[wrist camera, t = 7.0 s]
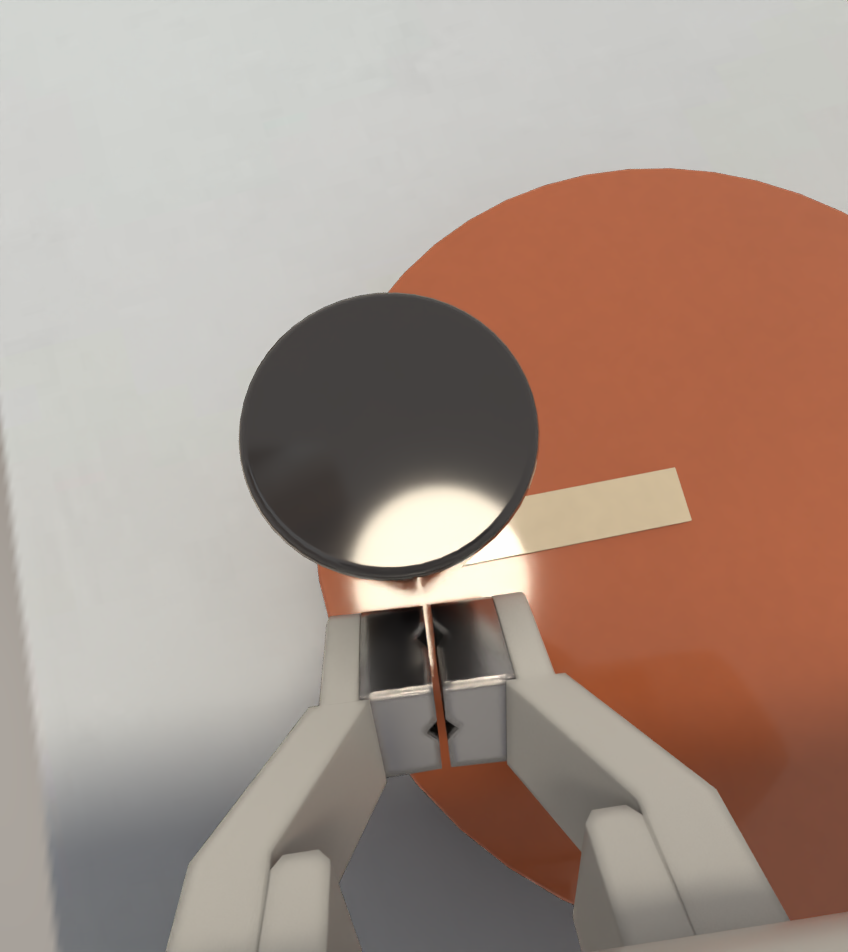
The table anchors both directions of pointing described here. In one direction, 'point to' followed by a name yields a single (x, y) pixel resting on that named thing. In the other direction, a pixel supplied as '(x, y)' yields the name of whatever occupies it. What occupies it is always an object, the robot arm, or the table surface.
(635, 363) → the orange turntable with peg
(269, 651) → the table surface
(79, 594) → the table surface
